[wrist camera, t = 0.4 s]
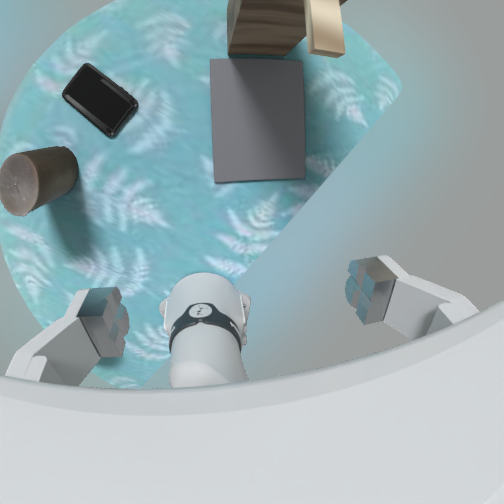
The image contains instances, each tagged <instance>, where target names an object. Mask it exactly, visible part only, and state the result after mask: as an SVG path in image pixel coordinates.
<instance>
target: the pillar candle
mask: <svg viewBox="0 0 504 504" xmlns="http://www.w3.org/2000/svg"><path fill="white" fill-rule="evenodd" d="M77 174H78V164H77V160H76V158H75V156H74V154H73V153H72V152H71V151H70V150H69V149H68V148H66V147H64V146H63V147H59V146H55V147H48V148H42V149H37V150H32V151H26V152H21V153H16V154H13V155H11V156H9V157H8V158H7V159H6V160H5V161H4V163H3V165H2V166H1V169H0V200H1V202H2V203H3V205H4V208H5V209H7V211H8V212H10V213H11V214H13V215H15V216H26V215H27V213H29V212H31V211H33V210H35V209H37V208H39V207H40V206H43V205H44V204H47V203H49V202H51V201H53V200H55V199H57V198H59V197H61V196H63V195H65V194H67V193H68V192H69V191H70V190H71V189H72V188H73V186H74V184H75V182H76V179H77Z"/></svg>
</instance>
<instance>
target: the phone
mask: <svg viewBox="0 0 504 504" xmlns="http://www.w3.org/2000/svg"><path fill="white" fill-rule="evenodd" d="M62 97H63V98H64V99H65V100H66V101H67V102H69V103H70V104H71V105H72V106H73V107H74V108H76V109H77V110H78V111H79V112H80V113H82V114H83V115H84V116H85V117H86V118H87V119H89V120H90V121H91V122H92V123H93V124H94V125H96V126H97V127H98V128H99V129H100V130H101V131H103V132H104V133H105V134H106V135H108V136H113V135H115V134H116V133H117V131H118V130H119V129H120V128H121V126H122V125H123V124H124V123H125V121H126V120H127V119H128V118H129V117H130V115H131V114H132V113H133V112H134V111H135V109H136V108H137V106H138V102H137V100H136V99H135V98H133V96H132V95H130V94H128V92H127V91H125V90H124V89H123V88H122V87H120V86H118V85H117V84H116V83H115V82H113V81H112V80H111V79H109V78H108V77H107V76H106V75H104V74H103V73H102V72H100V71H99V70H98V69H97V68H95V67H94V66H93V65H91V64H89V63H85V64H84V65H83V66H82V67H81V68H80V69H79V70H78V72H77V73H76V74H75V76H74V77H73V78H72V79H71V81H70V82H69V83H68V85H67V86H66V87H65V89H64V90H63V92H62Z"/></svg>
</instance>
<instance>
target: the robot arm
mask: <svg viewBox="0 0 504 504" xmlns="http://www.w3.org/2000/svg"><path fill="white" fill-rule="evenodd" d="M348 272H349V273H350V275H351V276H350V277H349V278H348V279H347V281H346V286H345V293H346V297H347V300H348V302H349V304H350V305H351V306H353V307H355V308H357V311H356V314H357V316H358V317H359V319H360V320H361V322H362V323H363V325H366V324H370V323H375V322H379V321H383V322H385V323H386V324H388V325H390V326H391V327H393V328H394V329H396V330H397V331H399V332H401V333H402V334H404V335H405V336H407V337H408V338H410V339H412V341H410V342H407V343H404V344H401V345H398V346H395V347H392V348H389V349H386V350H383V351H380V352H376V353H373V354H370V355H366V356H363V357H360V358H356V359H352V360H349V361H345V362H341V363H337V364H333V365H329V366H325V367H320V368H316V369H311V370H307V371H302V372H297V373H292V374H287V375H281V376H276V377H270V378H263V379H257V380H250V381H249V379H248V378H247V375H246V373H245V369H244V366H243V363H242V359H241V355H240V353H241V349H242V345H246V343H247V337H246V335H245V332H246V330H247V329H246V324H247V319H248V314H249V309H250V303H251V299H250V297H249V296H248V295H247V294H245V293H243V292H240V291H238V290H237V289H236V288H235V287H234V286H233V284H232V283H231V282H229V281H228V280H227V279H225V278H224V277H222V276H219V275H216V274H212V273H195V274H191V275H189V276H186V277H184V278H183V279H181V280H180V281H179V282H178V283H177V284H176V285H175V286H174V287H173V289H172V291H171V293H170V295H169V296H168V297H167V298H166V299H164V300H163V301H162V302H161V303H160V304H159V310H160V312H161V314H162V316H163V319H164V329H165V330H166V331H167V333H168V335H169V350H170V353H171V356H170V366H169V377H168V378H169V383H170V386H171V388H156V389H117V388H93V387H80V386H79V384H80V383H81V382H82V381H83V380H84V378H85V377H86V376H87V375H88V374H89V372H90V371H91V370H92V369H93V368H94V366H95V365H96V364H97V363H98V362H99V360H100V359H101V358H100V357H122V355H123V351H124V347H125V343H126V342H125V340H124V338H123V337H124V336H125V335H126V334H128V330H129V317H128V313H127V310H126V307H125V306H123V305H122V304H121V303H120V301H121V298H122V296H121V294H120V291H119V289H118V288H117V287H107V288H92V289H91V288H89V289H80V290H78V291H77V293H76V295H75V296H74V298H73V300H72V302H71V304H70V306H69V308H68V309H67V311H66V313H65V315H64V317H63V318H59V319H58V320H56V321H55V322H54V323H52V324H51V325H50V326H48V327H47V328H46V329H45V330H43V331H42V332H41V333H39V334H38V335H37V336H35V337H34V338H33V339H32V340H30V341H29V342H28V343H27V344H25V345H24V346H23V347H22V348H20V349H19V350H18V351H17V352H16V353H15V355H14V357H13V359H12V361H11V363H10V365H9V367H8V369H7V372H6V374H5V376H4V375H0V504H504V300H503V301H500V302H499V303H497V304H495V305H493V306H491V307H489V308H487V309H485V310H483V311H481V312H480V311H478V309H477V308H475V306H474V305H473V304H472V303H471V302H470V301H469V300H468V299H467V298H466V297H465V296H463V295H461V294H459V293H456V292H454V291H451V290H449V289H446V288H444V287H441V286H439V285H436V284H434V283H431V282H429V281H426V280H423V279H421V278H418V277H416V276H409V275H408V274H407V273H406V272H405V271H404V270H403V269H402V268H401V267H400V266H399V265H398V264H397V263H396V262H395V261H394V260H393V259H391V258H390V257H389V256H388V255H381V256H376V257H371V258H364V259H358V260H352V261H351V262H350V264H349V267H348ZM243 305H245V306H243Z"/></svg>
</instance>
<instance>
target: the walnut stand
mask: <svg viewBox="0 0 504 504" xmlns="http://www.w3.org/2000/svg"><path fill="white" fill-rule="evenodd" d="M346 1H347V0H339V5H340V6H341V5H342V4H343V3H345V2H346ZM306 35H307V32H306V21H305V10H304V1H303V0H229V2H228V7H227V44H228V54H258V55H279V56H286V55H287V54H288V53H289V52H290V51H291V50H292V49H293V48H294V47H295V46H296V45H297V44H298V43H299V42H300V41H301V40H302V39H303V38H304V37H305V36H306Z"/></svg>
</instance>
